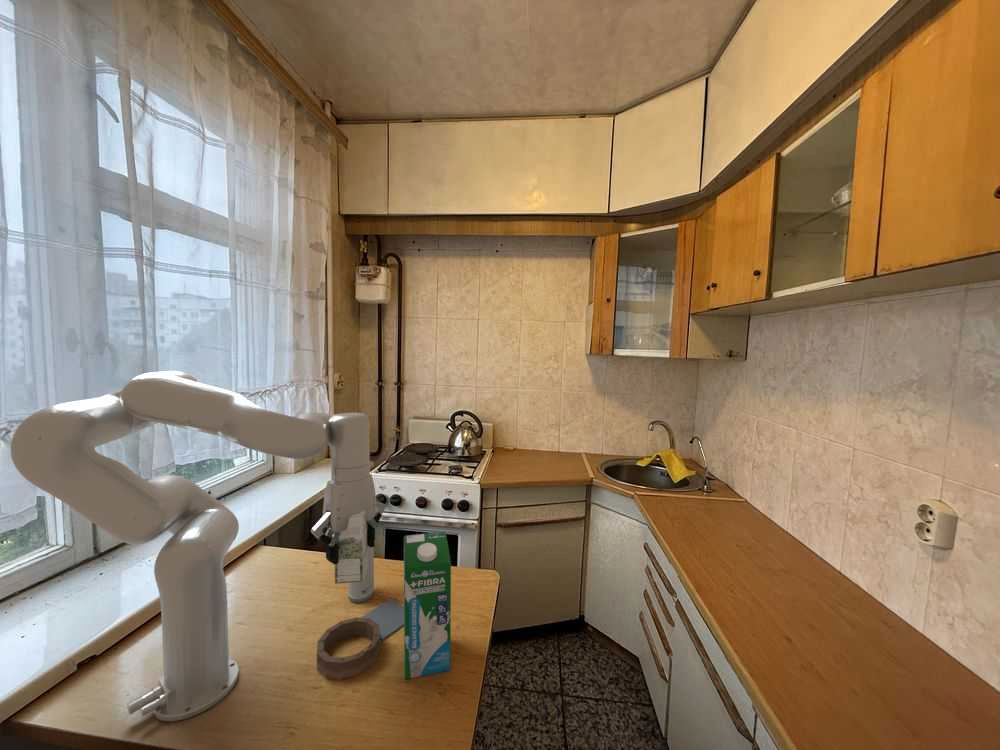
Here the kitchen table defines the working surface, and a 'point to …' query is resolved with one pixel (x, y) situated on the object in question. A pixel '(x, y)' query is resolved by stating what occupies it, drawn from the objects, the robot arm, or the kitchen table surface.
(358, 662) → the collar
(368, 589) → the travel mug
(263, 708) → the kitchen table surface
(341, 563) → the syrup box
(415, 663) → the milk carton
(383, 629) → the mat
